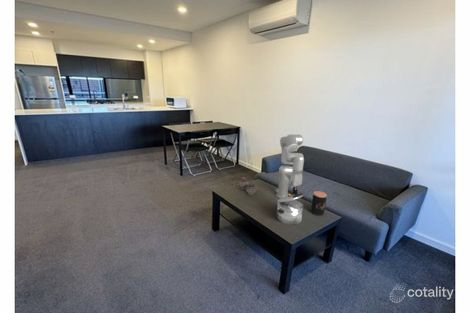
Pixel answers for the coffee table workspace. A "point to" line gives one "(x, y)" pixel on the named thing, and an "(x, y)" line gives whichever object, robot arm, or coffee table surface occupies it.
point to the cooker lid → (290, 197)
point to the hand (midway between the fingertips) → (294, 193)
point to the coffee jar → (318, 203)
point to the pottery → (251, 188)
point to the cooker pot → (289, 212)
